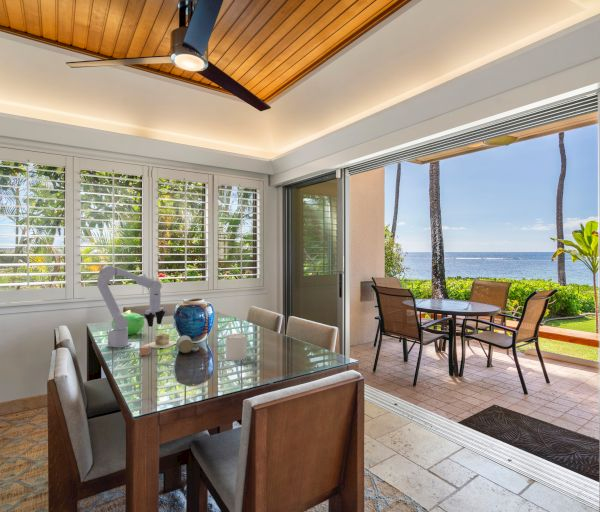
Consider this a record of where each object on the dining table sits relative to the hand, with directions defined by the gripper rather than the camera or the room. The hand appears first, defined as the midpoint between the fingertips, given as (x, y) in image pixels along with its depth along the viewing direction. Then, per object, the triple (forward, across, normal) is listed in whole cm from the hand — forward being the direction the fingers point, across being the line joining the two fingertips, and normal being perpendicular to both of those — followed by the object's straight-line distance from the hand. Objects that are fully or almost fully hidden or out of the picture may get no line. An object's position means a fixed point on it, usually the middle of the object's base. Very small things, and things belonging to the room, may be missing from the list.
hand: (154, 325), depth 206 cm
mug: (+10, -15, -57) cm, 60 cm away
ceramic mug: (+10, -13, -29) cm, 33 cm away
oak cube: (+9, -5, -8) cm, 13 cm away
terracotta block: (+10, -24, -12) cm, 28 cm away
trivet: (+9, -5, -8) cm, 13 cm away
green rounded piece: (+10, +10, +26) cm, 29 cm away
